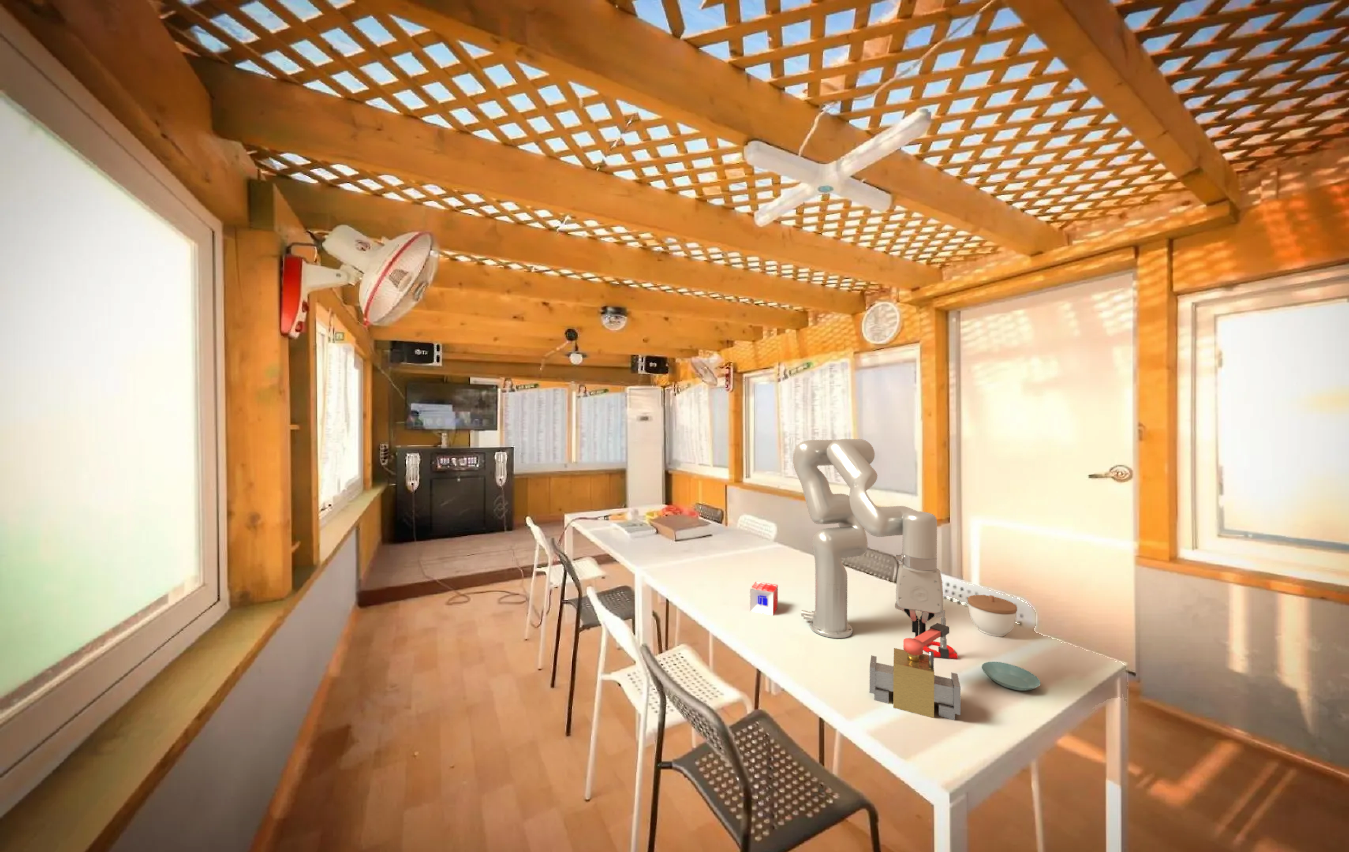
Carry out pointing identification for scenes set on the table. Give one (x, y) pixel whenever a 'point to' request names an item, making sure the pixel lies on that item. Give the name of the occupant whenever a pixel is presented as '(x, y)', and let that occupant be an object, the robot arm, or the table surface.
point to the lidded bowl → (992, 614)
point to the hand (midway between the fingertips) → (918, 636)
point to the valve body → (915, 685)
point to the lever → (924, 639)
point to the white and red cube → (764, 598)
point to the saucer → (1010, 676)
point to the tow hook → (942, 645)
